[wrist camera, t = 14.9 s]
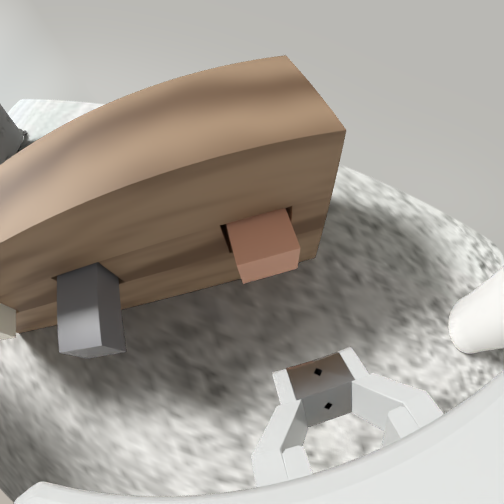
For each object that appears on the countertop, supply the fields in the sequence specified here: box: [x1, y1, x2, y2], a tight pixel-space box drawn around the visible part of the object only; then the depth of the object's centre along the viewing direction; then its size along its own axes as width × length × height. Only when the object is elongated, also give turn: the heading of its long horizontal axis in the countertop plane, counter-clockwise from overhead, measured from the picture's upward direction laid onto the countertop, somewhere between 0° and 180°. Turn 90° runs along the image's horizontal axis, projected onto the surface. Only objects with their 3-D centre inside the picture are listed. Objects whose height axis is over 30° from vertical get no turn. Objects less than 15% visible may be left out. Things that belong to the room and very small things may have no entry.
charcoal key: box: [57, 262, 127, 358], centre depth 16 cm, size 6×4×3 cm, turn 15°
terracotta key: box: [226, 208, 300, 284], centre depth 18 cm, size 6×4×3 cm, turn 15°
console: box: [0, 56, 346, 333], centre depth 19 cm, size 8×33×14 cm, turn 105°
